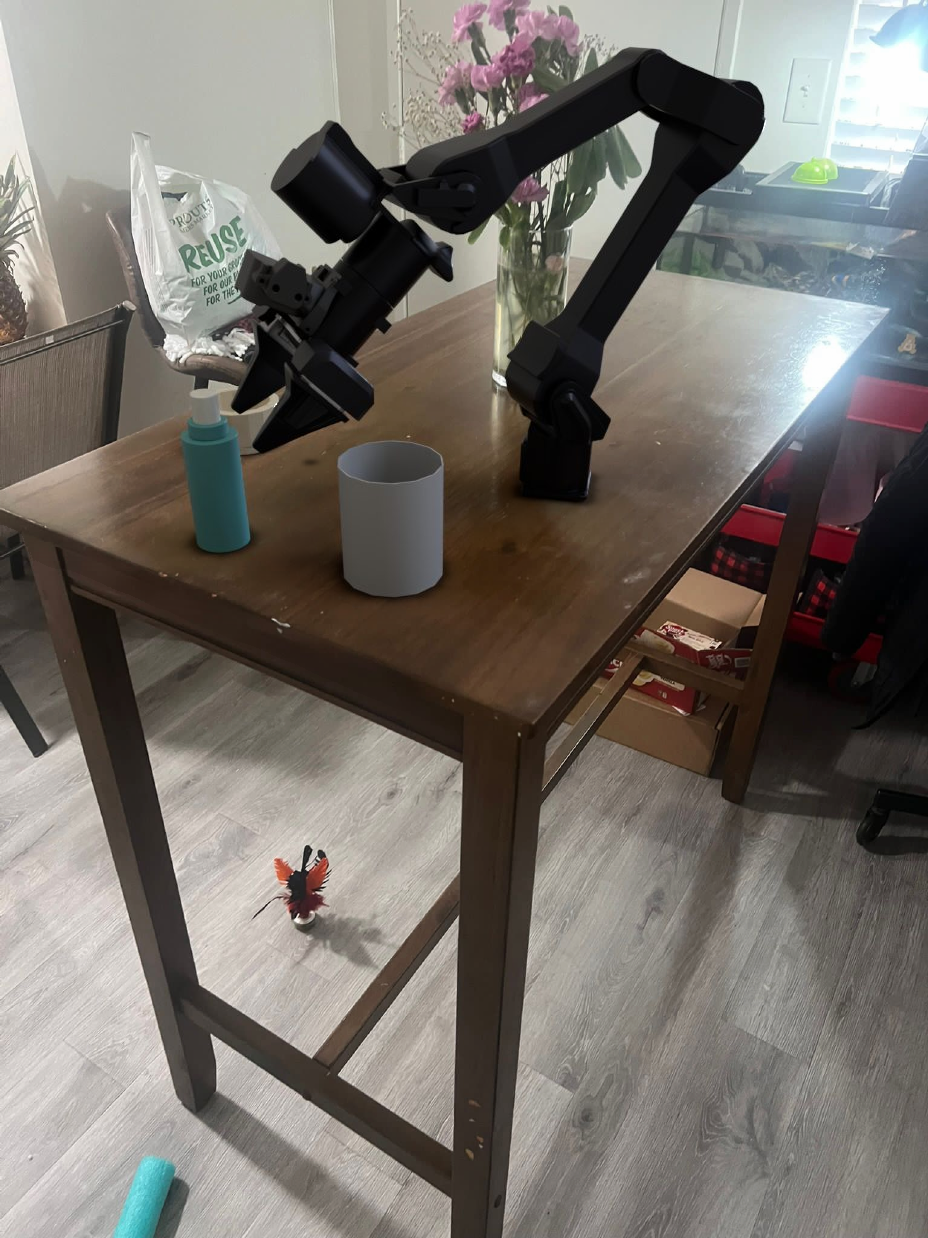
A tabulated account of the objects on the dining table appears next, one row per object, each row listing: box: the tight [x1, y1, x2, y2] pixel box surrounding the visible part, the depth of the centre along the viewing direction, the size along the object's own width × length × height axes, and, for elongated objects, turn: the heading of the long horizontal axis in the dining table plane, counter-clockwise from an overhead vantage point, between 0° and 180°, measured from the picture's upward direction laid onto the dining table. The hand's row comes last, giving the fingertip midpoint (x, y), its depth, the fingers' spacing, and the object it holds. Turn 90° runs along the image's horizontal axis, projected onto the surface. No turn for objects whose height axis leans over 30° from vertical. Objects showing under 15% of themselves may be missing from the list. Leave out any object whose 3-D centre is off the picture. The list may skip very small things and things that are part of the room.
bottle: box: [179, 388, 251, 554], centre depth 77 cm, size 5×5×14 cm
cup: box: [337, 440, 445, 598], centre depth 74 cm, size 8×8×10 cm
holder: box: [214, 386, 280, 456], centre depth 98 cm, size 9×9×4 cm
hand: (245, 429), depth 76 cm, fingers open, 9 cm apart
